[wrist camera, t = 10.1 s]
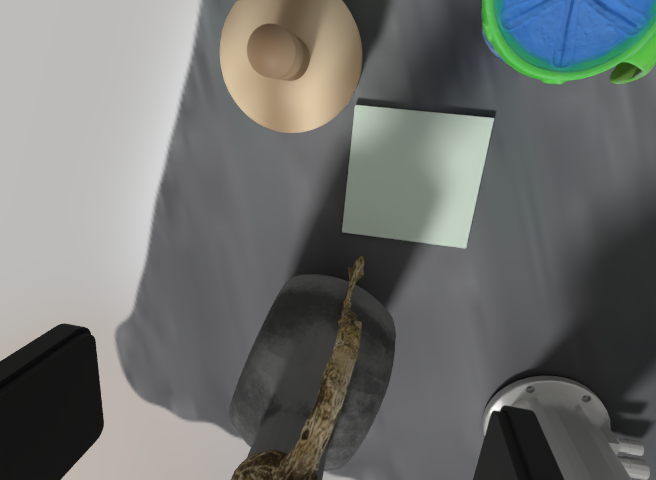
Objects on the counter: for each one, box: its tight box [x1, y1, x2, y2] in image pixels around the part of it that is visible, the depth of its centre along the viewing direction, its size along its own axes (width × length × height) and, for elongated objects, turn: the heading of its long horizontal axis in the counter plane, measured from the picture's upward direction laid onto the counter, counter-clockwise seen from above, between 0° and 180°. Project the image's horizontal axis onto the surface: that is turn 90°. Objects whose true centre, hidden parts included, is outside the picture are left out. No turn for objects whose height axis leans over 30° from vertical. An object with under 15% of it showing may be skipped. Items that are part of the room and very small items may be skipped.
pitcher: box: [229, 255, 396, 480], centre depth 30 cm, size 11×19×30 cm, turn 159°
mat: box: [342, 105, 494, 248], centre depth 38 cm, size 12×12×1 cm
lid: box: [220, 0, 363, 133], centre depth 29 cm, size 11×11×6 cm
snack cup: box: [481, 0, 656, 84], centre depth 28 cm, size 16×10×10 cm
